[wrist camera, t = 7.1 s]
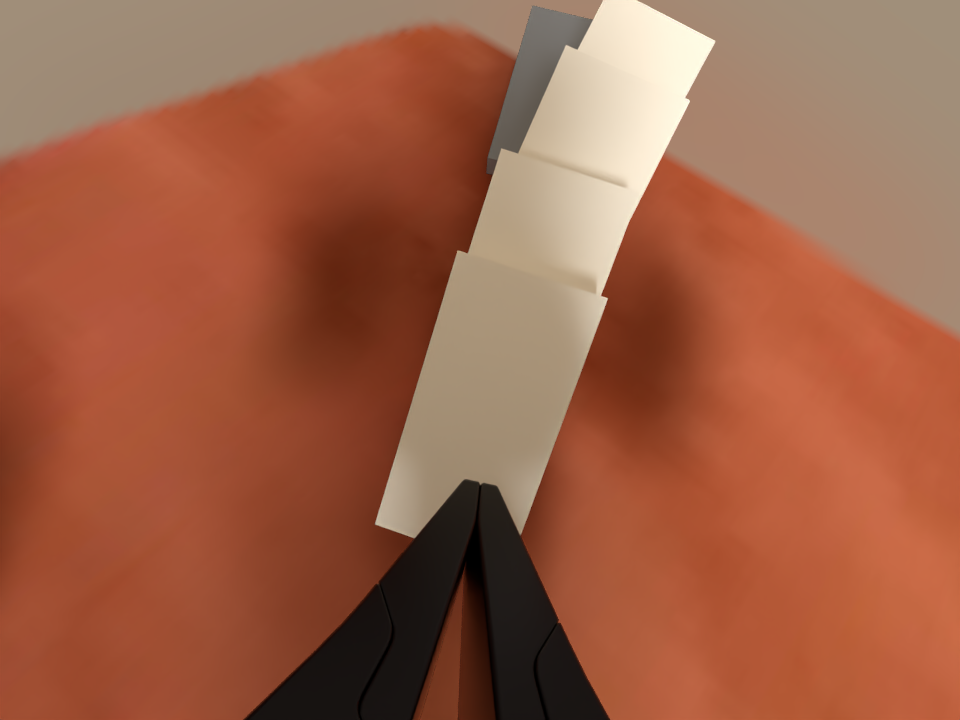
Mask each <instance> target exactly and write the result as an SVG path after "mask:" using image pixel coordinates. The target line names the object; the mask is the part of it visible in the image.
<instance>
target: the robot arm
mask: <svg viewBox="0 0 960 720" xmlns="http://www.w3.org/2000/svg"><path fill="white" fill-rule="evenodd" d="M464 567H465V570H464ZM463 571H464V582H463V605H462V630H461V654H460V678H459V702H458V720H610V718H609V717H608V715H607V713H606V711H605V710H604V708H603V706H602V704H601V702H600V700H599V699H598V697H597V695H596V693H595V691H594V689H593V688H592V686H591V684H590V682H589V680H588V679H587V677H586V675H585V673H584V671H583V669H582V667H581V665H580V662H579V660H578V658H577V656H576V654H575V652H574V650H573V648H572V646H571V644H570V642H569V640H568V638H567V635H566V633H565V631H564V629H563V627H562V624H561V623H558V621H559V619H558V617H557V615H556V612H555V610H554V608H553V606H552V604H551V602H550V599H549V597H548V595H547V593H546V591H545V588H544V586H543V584H542V582H541V580H540V578H539V575H538V573H537V571H536V569H535V567H534V564H533V562H532V560H531V558H530V556H529V554H528V551H527V549H526V547H525V545H524V543H523V540H522V538H521V536H520V534H519V532H518V530H517V527H516V525H515V523H514V521H513V519H512V516H511V514H510V512H509V510H508V508H507V506H506V503H505V501H504V499H503V497H502V495H501V492H500V490H499V488H498V487H497V486H496V485H492V484H488V483H481V485H480V483H479V482H478V481H473V480H469V479H464V480H463V481H462V482H461V483H460V484H459V485H458V487H457V488H456V489H455V490H454V491H453V493H452V494H451V495H450V496H449V497H448V499H447V500H446V501H445V502H444V503H443V505H442V506H441V507H440V508H439V509H438V511H437V512H436V513H435V514H434V515H433V517H432V518H431V519H430V520H429V521H428V523H427V524H426V525H425V526H424V527H423V529H422V530H421V531H420V532H419V533H418V535H417V536H416V537H415V538H414V540H413V541H412V542H411V543H410V544H409V546H408V547H407V548H406V549H405V550H404V552H403V553H402V554H401V555H400V556H399V558H398V559H397V560H396V561H395V562H394V564H393V565H392V566H391V567H390V568H389V570H388V571H387V572H386V573H385V574H384V576H383V577H382V578H381V579H380V580H379V584H376V585H375V586H374V587H373V588H372V589H371V591H370V592H369V593H368V594H367V595H366V597H365V598H364V599H363V600H362V601H361V602H360V604H359V605H358V606H357V607H356V608H355V609H354V610H353V611H352V613H351V614H350V615H349V616H348V617H347V618H346V619H345V620H344V622H343V623H342V624H341V625H340V626H339V627H338V628H337V629H336V630H335V631H334V632H333V633H332V634H331V635H330V636H329V637H328V638H327V639H326V640H325V641H324V642H323V643H322V644H321V645H320V646H319V647H318V648H317V649H316V650H315V651H314V652H313V653H312V654H311V655H310V656H309V657H308V658H307V659H306V660H305V661H304V662H303V663H302V664H301V665H300V666H299V667H297V668H296V669H295V670H294V671H293V672H292V673H291V674H290V675H289V676H288V677H287V678H286V679H285V680H284V681H283V682H282V683H281V684H280V685H279V686H278V687H277V688H276V689H275V690H274V691H273V692H272V693H271V694H269V695H268V696H267V697H266V698H265V699H264V700H263V701H262V702H261V703H260V704H259V705H258V706H257V707H256V708H255V709H254V710H253V711H252V712H251V713H250V714H249V715H248V716H247V717H246V718H245V719H244V720H420V717H421V714H422V711H423V707H424V704H425V700H426V697H427V694H428V690H429V687H430V684H431V680H432V677H433V674H434V670H435V667H436V663H437V660H438V657H439V653H440V650H441V647H442V643H443V640H444V636H445V633H446V630H447V626H448V623H449V620H450V616H451V613H452V609H453V606H454V603H455V599H456V596H457V593H458V589H459V586H460V582H461V579H462V575H463Z"/></svg>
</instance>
